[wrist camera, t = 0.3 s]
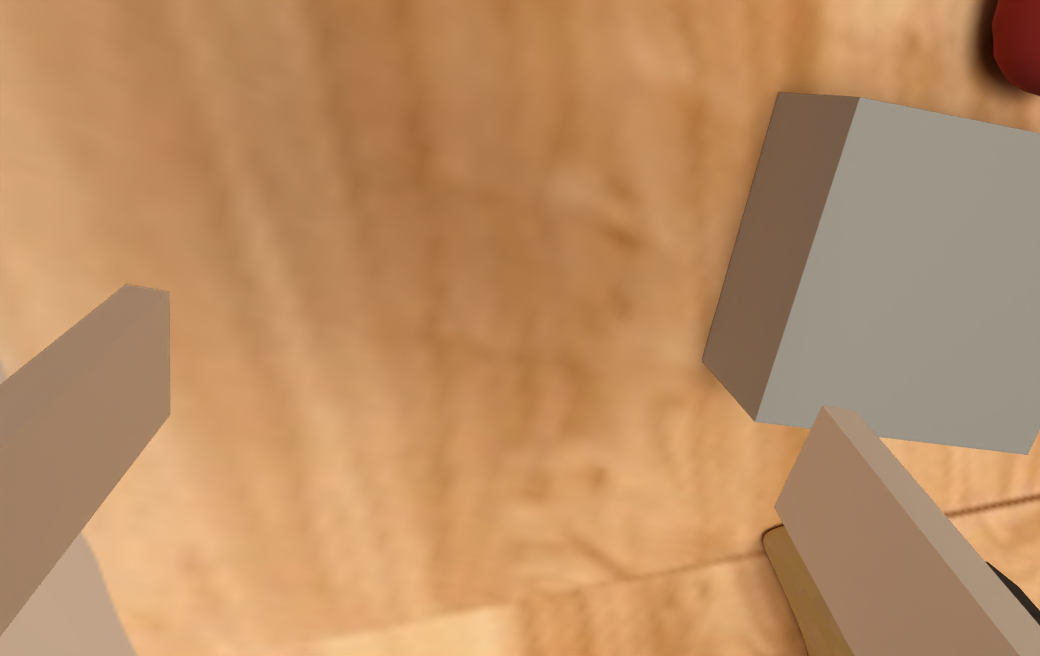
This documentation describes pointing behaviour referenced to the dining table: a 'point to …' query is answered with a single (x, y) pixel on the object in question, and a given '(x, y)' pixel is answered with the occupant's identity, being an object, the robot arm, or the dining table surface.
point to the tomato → (1018, 42)
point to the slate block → (887, 275)
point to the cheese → (804, 597)
